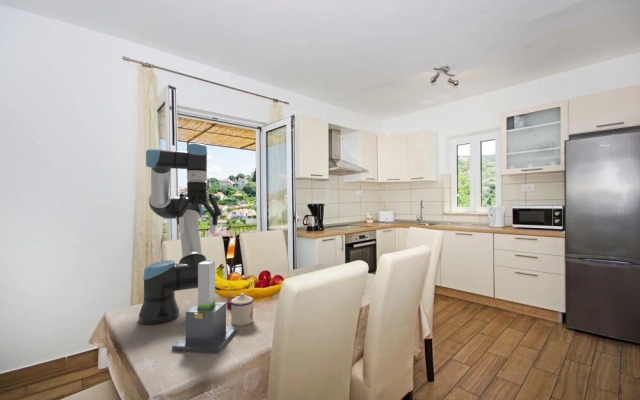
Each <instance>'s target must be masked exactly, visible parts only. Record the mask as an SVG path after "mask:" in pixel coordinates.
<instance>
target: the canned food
mask: <svg viewBox="0 0 640 400" xmlns="http://www.w3.org/2000/svg"><path fill="white" fill-rule="evenodd" d="M230 295H231V296H232V297H235V298H236V297H238V296H236V295H234V294H232V293H230ZM230 298H231V297H230ZM230 298H228V299H227V300H226V309H228V308H229V309H228V310H231V300H232V299H230Z"/></svg>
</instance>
